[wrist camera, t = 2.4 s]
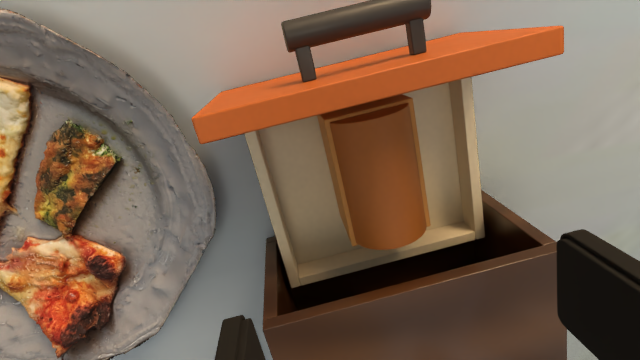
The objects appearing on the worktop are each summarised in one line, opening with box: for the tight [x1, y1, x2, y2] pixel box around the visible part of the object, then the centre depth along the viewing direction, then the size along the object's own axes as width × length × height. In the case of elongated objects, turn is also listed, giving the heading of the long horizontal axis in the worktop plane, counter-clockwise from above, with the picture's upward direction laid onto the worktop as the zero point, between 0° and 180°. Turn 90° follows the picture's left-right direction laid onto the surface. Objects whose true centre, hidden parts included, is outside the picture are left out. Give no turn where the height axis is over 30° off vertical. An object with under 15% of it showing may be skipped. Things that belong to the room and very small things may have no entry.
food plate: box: [0, 9, 216, 360], centre depth 25 cm, size 25×23×4 cm
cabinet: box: [263, 190, 567, 360], centre depth 27 cm, size 14×17×10 cm
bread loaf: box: [317, 94, 431, 250], centre depth 23 cm, size 8×5×6 cm, turn 13°
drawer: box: [192, 0, 564, 288], centre depth 23 cm, size 17×16×10 cm
